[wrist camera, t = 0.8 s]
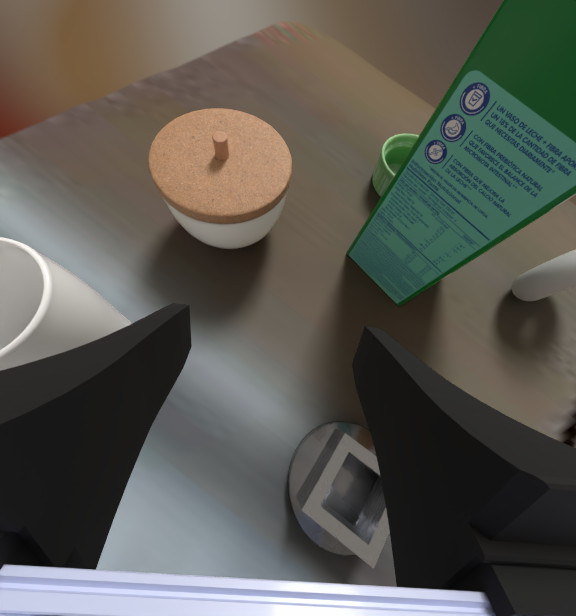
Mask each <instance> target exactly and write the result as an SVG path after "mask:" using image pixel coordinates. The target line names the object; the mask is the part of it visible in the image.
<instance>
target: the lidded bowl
mask: <svg viewBox="0 0 576 616" xmlns="http://www.w3.org/2000/svg"><path fill="white" fill-rule="evenodd" d="M148 164H149V170H150V174H151V176H152V179H153V182H154V184H155V186H156V187H157V189H158V191H159V192H160V194H161V196H162V197H163V199H164V201H165V203H166V204H167V206H168V208H169V209H170V211H171V213H172V214H173V216H174V217H175V218H176V220H177V221H178V222H179V223H180V224H181V226H182V227H183V228H184V229H185V230H186V231H187V232H188V233H189V234H191V235H192V236H193V237H195V238H196V239H198V240H200V241H201V242H203V243H205V244H208V245H210V246H214V247H218V248H224V249H237V248H242V247H246V246H249V245H251V244H253V243H255V242H258V241H259V240H260V239H262V238H263V237H264V236H266V235H267V234H268V233H269V232H270V230H271V229H272V228H273V227H274V225H275V224H276V222H277V220H278V218H279V216H280V214H281V212H282V209H283V207H284V203H285V199H286V195H287V190H288V187H289V183H290V179H291V174H292V159H291V154H290V152H289V149H288V147H287V145H286V143H285V141H284V140H283V138H282V137H281V136H280V135H279V134H278V132H277V131H276V130H274V129H273V128H272V127H271V126H270V125H269V124H267V123H266V122H264V121H262V120H261V119H259V118H257V117H255V116H252V115H250V114H247V113H244V112H240V111H237V110H230V109H218V108H214V109H203V110H198V111H193V112H190V113H187V114H185V115H182V116H180V117H178V118H176V119H174V120H173V121H171V122H170V123H168V124H167V125H166V126H165V127H164V128H163V129H161V131H160V132H159V133H158V135H157V136H156V138H155V139H154V141H153V143H152V145H151V149H150V152H149V160H148Z"/></svg>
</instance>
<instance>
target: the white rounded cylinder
mask: <svg viewBox="0 0 576 616" xmlns="http://www.w3.org/2000/svg"><path fill="white" fill-rule="evenodd" d="M131 324H133V323H132V322H131V321H129V320H128V319H127V318H126V317H125V316H124V315H122V314H121V313H120V312H119V311H118V310H117V309H115V308H114V307H113V306H112V305H111V304H110V303H109V302H107V301H106V300H105V299H104V298H103V297H102V296H101V295H99V294H98V293H97V292H96V291H95V290H94V289H92V288H91V287H90V286H89V285H87V284H86V283H85V282H84V281H82V280H81V279H79V278H78V277H77V276H75V275H74V274H72V273H71V272H70V271H68V270H67V269H65V268H64V267H62V266H60V265H59V264H57V263H56V262H54V261H52V260H51V259H49V258H47V257H46V256H44V255H42V254H40V253H39V252H37V251H35V250H34V249H32V248H30V247H29V246H27V245H25V244H23V243H20V242H18V241H15V240H11V239H7V238H1V237H0V371H1V370H5V369H9V368H12V367H16V366H20V365H24V364H27V363H30V362H33V361H37V360H40V359H43V358H46V357H50V356H53V355H56V354H59V353H62V352H65V351H68V350H71V349H74V348H77V347H79V346H82V345H85V344H87V343H90V342H92V341H95V340H97V339H100V338H102V337H104V336H107V335H109V334H111V333H113V332H115V331H118V330H120V329H122V328H124V327H126V326H129V325H131Z"/></svg>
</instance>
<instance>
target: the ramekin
mask: <svg viewBox="0 0 576 616" xmlns="http://www.w3.org/2000/svg"><path fill="white" fill-rule="evenodd" d="M418 137H419V136H418V135H414V134H399V135H395V136H393V137H391V138H389V139H388V140H387V141H386V142H385V143H384V145H383V147H382V150H381V153H380V158H379V160H378V163H377V165H376V168H375V170H374V172H373V177H372V181H373V186H374V188H375V190H376V192H377V193H378V195H379V196H380V197H382V195H383V193H384V192H385V190H386V189H387V187H388V185H389V184H390V182H391V180H392V179H393V177H394V176H395V174H396V172H397V171H398V169H399V168H400V166H401V164H402V163H403V161H404V160H405V158H406V156H407V155H408V153H409V152H410V150H411V148H412V147H413V145H414V144H415V142H416V140H417V139H418Z"/></svg>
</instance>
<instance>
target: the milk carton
mask: <svg viewBox="0 0 576 616" xmlns="http://www.w3.org/2000/svg"><path fill="white" fill-rule="evenodd" d="M574 195H576V0H504V1H503V2H502V4H501V5H500V7H499V9H498V11H497V12H496V13H495V15H494V17H493V18H492V20H491V21H490V23H489V25H488V26H487V28H486V29H485V31H484V33H483V34H482V36H481V37H480V39H479V41H478V42H477V44H476V46H475V47H474V49H473V50H472V52H471V54H470V55H469V57H468V58H467V60H466V62H465V63H464V65H463V66H462V68H461V70H460V72H459V73H458V74H457V76H456V78H455V79H454V81H453V82H452V84H451V86H450V87H449V89H448V91H447V92H446V94H445V95H444V97H443V99H442V100H441V102H440V103H439V105H438V107H437V108H436V110H435V111H434V113H433V115H432V116H431V118H430V119H429V121H428V123H427V124H426V126H425V127H424V129H423V131H422V132H421V134H420V135H419V137H418V139H417V140H416V142H415V144H414V145H413V147H412V148H411V150H410V152H409V153H408V155H407V156H406V158H405V160H404V161H403V163H402V164H401V166H400V168H399V169H398V171H397V172H396V174H395V176H394V177H393V179H392V180H391V182H390V184H389V185H388V187H387V189H386V190H385V192H384V193H383V195H382V197H381V198H380V200H379V201H378V203H377V205H376V206H375V208H374V209H373V211H372V213H371V214H370V216H369V217H368V219H367V221H366V222H365V224H364V225H363V227H362V229H361V230H360V232H359V234H358V235H357V237H356V238H355V240H354V242H353V243H352V245H351V246H350V248H349V250H348V251H347V254H348V255H349V256H350V257H351V258H352V259H353V260H354V261H355V262H356V263H357V264H358V265H359V266H360V267H361V268H362V269H363V270H364V271H365V272H366V273H367V274H368V275H369V276H370V277H371V278H372V279H373V281H374V282H375V283H376V284H377V285H378V286H379V287H380V288H381V289H382V290H383V291H384V292H385V293H386V294H387V295H388V296H389V297H390V298H391V299H392V300H393V301H394V302H395V303H396V304H397V305H398V306H401V305H403V304H404V303H406V302H407V301H409V300H410V299H412V298H414V297H415V296H417V295H418V294H420V293H422V292H423V291H425V290H426V289H428V288H429V287H431V286H433V285H434V284H436V283H437V282H439V281H440V280H442V279H444V278H445V277H447V276H448V275H450V274H451V273H453V272H455V271H456V270H458V269H459V268H461V267H462V266H464V265H466V264H467V263H469V262H470V261H472V260H473V259H475V258H477V257H478V256H480V255H481V254H483V253H484V252H486V251H488V250H489V249H491V248H492V247H494V246H495V245H497V244H499V243H500V242H502V241H503V240H505V239H506V238H508V237H510V236H511V235H513V234H514V233H516V232H517V231H519V230H521V229H522V228H524V227H525V226H527V225H528V224H530V223H532V222H533V221H535V220H536V219H538V218H539V217H541V216H543V215H544V214H546V213H547V212H549V211H550V210H552V209H554V208H555V207H557V206H558V205H560V204H561V203H563V202H565V201H566V200H568V199H569V198H571V197H572V196H574Z"/></svg>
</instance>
